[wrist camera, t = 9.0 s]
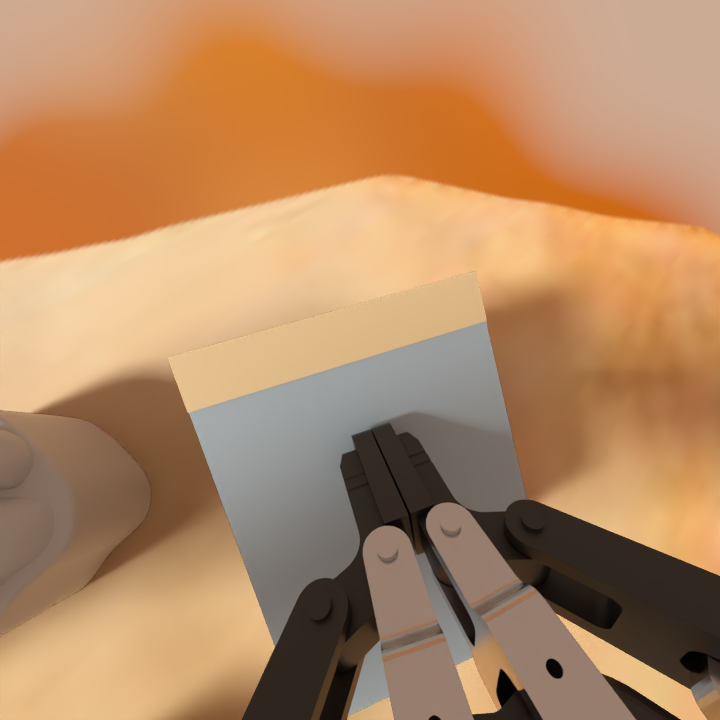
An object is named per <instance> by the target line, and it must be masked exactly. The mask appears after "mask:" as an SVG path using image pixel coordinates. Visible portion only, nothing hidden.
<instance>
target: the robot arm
mask: <svg viewBox="0 0 720 720" xmlns="http://www.w3.org/2000/svg"><path fill="white" fill-rule="evenodd" d="M351 437H352V441H353V445H354V448H355V450H353V451H350V452H347V453H344V454H342V458H341V464H340V469H341V473H342V476H343V480H344V483H345V486H346V490H347V493H348V497H349V500H350V504H351V507H352V511H353V514H354V517H355V521H356V524H357V528H358V531H359V536H360V544H359V549H358V552H357V555H356V557H355V558H354V560H353V561H352V563H351V564H350V565H349V566H348V567H347V568H346V569H345V570H343V571H342V572H341V573H340V574H339V575H338V576H337V577H335V578H334V579H330V578H320V579H317V580H315V581H313V582H311V583H310V584H308V585H307V586H306V587H305V588H304V589H303V591H302V592H301V593H300V595H299V597H298V599H297V601H296V603H295V606H294V608H293V610H292V612H291V614H290V616H289V619H288V621H287V623H286V625H285V627H284V629H283V632H282V634H281V636H280V638H279V640H278V642H277V644H276V647H275V649H274V651H273V653H272V655H271V657H270V660H269V662H268V664H267V666H266V668H265V670H264V673H263V675H262V677H261V679H260V681H259V683H258V686H257V688H256V690H255V692H254V694H253V696H252V699H251V701H250V703H249V705H248V707H247V709H246V712H245V714H244V716H243V718H242V720H347V717H348V713H349V710H350V707H351V703H352V700H353V696H354V693H355V689H356V686H357V682H358V679H359V675H360V672H361V668H362V665H363V661H364V658H365V655H366V654H367V653H368V652H369V651H370V650H371V649H372V648H373V647H374V646H375V645H376V644H377V643H378V642H379V641H380V643H381V654H382V660H383V665H384V671H385V676H386V681H387V686H388V691H389V696H390V701H391V706H392V711H393V715H394V720H680V719H679V718H677V717H676V716H674V715H673V714H671V713H669V712H668V711H666V710H665V709H663V708H662V707H660V706H659V705H657V704H655V703H654V702H652V701H651V700H649V699H648V698H646V697H645V696H643V695H642V694H640V693H638V692H637V691H635V690H634V689H632V688H630V687H629V686H627V685H625V684H623V683H621V682H620V681H618V680H616V679H614V678H612V677H609V676H606V675H604V674H601V673H600V671H599V670H598V669H597V668H596V666H595V665H594V664H593V662H592V661H591V660H590V658H589V657H588V656H587V654H586V653H585V652H584V650H583V649H582V648H581V646H580V645H579V644H578V642H577V641H576V640H575V639H574V637H573V636H572V635H571V633H570V632H569V631H568V629H567V628H566V627H565V625H564V624H563V623H562V621H561V620H560V619H559V617H558V616H557V615H556V614H558V615H560V616H562V617H564V618H565V619H567V620H569V621H571V622H572V623H574V624H576V625H578V626H579V627H581V628H583V629H585V630H586V631H588V632H590V633H592V634H594V635H595V636H597V637H599V638H601V639H602V640H604V641H606V642H608V643H609V644H611V645H613V646H615V647H617V648H618V649H620V650H622V651H624V652H625V653H627V654H629V655H631V656H632V657H634V658H636V659H638V660H639V661H641V662H643V663H645V664H647V665H648V666H650V667H652V668H654V669H655V670H657V671H659V672H661V673H662V674H664V675H666V676H668V677H670V678H671V679H673V680H675V681H677V682H678V683H680V684H682V685H684V686H685V687H687V688H689V689H691V690H692V693H693V696H694V698H695V701H696V703H697V705H698V706H699V708H700V710H701V711H702V713H703V714H704V715H705V717H706V718H707V720H720V576H719V575H716V574H714V573H711V572H709V571H706V570H704V569H701V568H699V567H696V566H694V565H692V564H689V563H687V562H684V561H682V560H679V559H677V558H674V557H672V556H669V555H667V554H664V553H662V552H660V551H657V550H655V549H652V548H650V547H647V546H645V545H642V544H640V543H637V542H635V541H632V540H630V539H628V538H625V537H623V536H620V535H618V534H615V533H613V532H610V531H608V530H605V529H603V528H600V527H598V526H596V525H593V524H591V523H588V522H586V521H583V520H581V519H578V518H576V517H573V516H571V515H568V514H566V513H564V512H561V511H559V510H556V509H554V508H551V507H549V506H546V505H544V504H541V503H539V502H536V501H533V500H526V499H523V500H517V501H515V502H513V503H511V504H510V505H509V506H508V507H507V509H506V511H499V512H478V511H474V510H470V509H468V508H466V507H464V506H463V505H461V504H460V503H459V502H458V501H457V500H456V499H455V498H454V497H453V495H452V493H451V492H450V490H449V489H448V487H447V485H446V484H445V482H444V480H443V479H442V477H441V476H440V474H439V472H438V471H437V469H436V467H435V466H434V464H433V463H432V462H431V459H430V458H429V456H428V454H427V453H426V452H425V449H424V448H423V446H422V445H421V443H420V441H419V440H418V439H417V438H416V437H414V436H413V435H411V434H410V433H409V432H404V433H401V434H399V435H396V433H395V431H394V429H393V428H392V426H391V424H390V423H386V424H383V425H380V426H377V427H375V428H372V429H371V431H370V429H369V430H366V431H363V432H360V433H357V434H354V435H351ZM414 549H415V551H416V554H417V555H419V554H421V553H424V552H425V555H426V557H427V559H428V561H429V564H430V566H431V571H432V576H433V579H434V581H435V583H436V585H437V587H438V588H439V590H440V592H441V594H442V596H443V598H444V600H445V602H446V604H447V606H448V608H449V610H450V611H451V613H452V615H453V617H454V619H455V621H456V623H457V625H458V627H459V629H460V631H461V633H462V635H463V636H464V638H465V640H466V642H467V644H468V646H469V648H470V651H471V653H472V656H473V659H474V662H475V664H476V667H477V669H478V672H479V674H480V676H481V678H482V680H483V682H484V684H485V686H486V688H487V690H488V692H489V694H490V696H491V698H492V700H493V702H494V704H495V706H496V708H497V710H498V711H497V712H495V713H486V714H472V713H471V710H470V707H469V704H468V701H467V698H466V695H465V692H464V690H463V687H462V684H461V681H460V678H459V675H458V672H457V669H456V666H455V663H454V661H453V658H452V655H451V652H450V649H449V646H448V643H447V641H446V638H445V636H444V633H443V631H442V629H441V627H440V625H439V623H438V621H437V618H436V615H435V612H434V609H433V606H432V603H431V600H430V597H429V594H428V591H427V589H426V586H425V583H424V580H423V577H422V574H421V571H420V568H419V565H418V562H417V559H416V554H415V551H414ZM555 613H556V614H555Z"/></svg>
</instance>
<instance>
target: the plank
mask: <svg viewBox="0 0 720 720" xmlns="http://www.w3.org/2000/svg"><path fill="white" fill-rule="evenodd" d="M486 321H487V318H486V313H485V309H484V304H483V300H482V296H481V291H480V287H479V283H478V278H477V274H476V271H473V272H470V273H466V274H463V275H459V276H455V277H452V278H448V279H445V280H441V281H438V282H434V283H431V284H427V285H423V286H420V287H416V288H413V289H409V290H406V291H402V292H399V293H395V294H392V295H388V296H384V297H381V298H377V299H374V300H370V301H367V302H363V303H360V304H356V305H352V306H349V307H345V308H342V309H338V310H335V311H331V312H328V313H324V314H321V315H317V316H313V317H310V318H306V319H303V320H299V321H296V322H292V323H289V324H285V325H281V326H278V327H274V328H271V329H267V330H264V331H260V332H257V333H253V334H250V335H246V336H242V337H239V338H235V339H232V340H228V341H225V342H221V343H218V344H214V345H210V346H207V347H203V348H200V349H196V350H193V351H189V352H186V353H182V354H179V355H175V356H171V357H168V361H169V364H170V366H171V369H172V372H173V374H174V377H175V380H176V383H177V385H178V388H179V391H180V393H181V396H182V399H183V402H184V404H185V407H186V410H187V412H188V413H189V414H190V417H191V420H192V423H193V425H194V428H195V431H196V433H197V436H198V439H199V442H200V444H201V447H202V450H203V452H204V455H205V458H206V461H207V463H208V466H209V469H210V471H211V474H212V477H213V480H214V482H215V485H216V488H217V490H218V493H219V496H220V499H221V501H222V504H223V507H224V510H225V512H226V515H227V518H228V520H229V523H230V526H231V529H232V531H233V534H234V537H235V539H236V542H237V545H238V548H239V550H240V553H241V556H242V558H243V561H244V564H245V567H246V569H247V572H248V575H249V577H250V580H251V583H252V586H253V588H254V591H255V594H256V596H257V599H258V602H259V605H260V607H261V610H262V613H263V615H264V618H265V621H266V624H267V626H268V629H269V632H270V634H271V637H272V640H273V643H274V645H275V647H276V644H277V642H278V640H279V638H280V636H281V634H282V632H283V629H284V627H285V625H286V623H287V621H288V619H289V616H290V614H291V612H292V610H293V608H294V606H295V603H296V601H297V599H298V597H299V595H300V593H301V592H302V591H303V589H304V588H305V587H306V586H307V585H308V584H310V583H311V582H313V581H315V580H317V579H320V578H330V579H334V578H335V577H337V576H338V575H339V574H340V573H341V572H342V571H343V570H345V569H346V568H347V567H348V566H349V565H350V564H351V563H352V561H353V560H354V558H355V557H356V555H357V552H358V549H359V544H360V536H359V531H358V528H357V524H356V521H355V517H354V514H353V511H352V507H351V504H350V500H349V497H348V493H347V490H346V486H345V483H344V480H343V476H342V473H341V469H340V464H341V458H342V454H344V453H347V452H350V451H353V450H355V448H354V445H353V441H352V437H351V435H354V434H357V433H360V432H363V431H366V430H369V429H370V431H371V429H372V428H375V427H377V426H380V425H383V424H386V423H390V424H391V426H392V428H393V429H394V431H395V433H396V435H399V434H401V433H404V432H409V433H410V434H411V435H413V436H414V437H416V438H417V439H418V440H419V441H420V443H421V445H422V446H423V448H424V449H425V452H426V453H427V454H428V456H429V458H430V459H431V462H432V463H433V464H434V466H435V467H436V469H437V471H438V472H439V474H440V476H441V477H442V479H443V480H444V482H445V484H446V485H447V487H448V489H449V490H450V492H451V493H452V495H453V497H454V498H455V499H456V500H457V501H458V502H459V503H460V504H461V505H463V506H464V507H466V508H468V509H470V510H474V511H478V512H499V511H506V509H507V507H508V506H509V505H510V504H511V503H513V502H515V501H517V500H523V499H526V500H527V498H526V493H525V489H524V484H523V480H522V476H521V471H520V467H519V463H518V458H517V454H516V450H515V445H514V441H513V437H512V432H511V428H510V424H509V419H508V415H507V411H506V406H505V402H504V398H503V393H502V389H501V385H500V380H499V376H498V372H497V367H496V363H495V358H494V354H493V350H492V345H491V341H490V337H489V332H488V328H487V324H486ZM414 551H415V549H414ZM415 554H416V551H415ZM416 559H417V562H418V565H419V568H420V571H421V574H422V577H423V580H424V583H425V586H426V589H427V591H428V594H429V597H430V600H431V603H432V606H433V609H434V612H435V615H436V618H437V621H438V623H439V625H440V627H441V629H442V631H443V633H444V636H445V638H446V641H447V643H448V646H449V649H450V652H451V655H452V658H453V661H454V663H455V665H457V664H459V663H461V662H463V661H466V660H468V659H470V658H472V657H473V656H472V653H471V651H470V648H469V646H468V644H467V642H466V640H465V638H464V636H463V635H462V633H461V631H460V629H459V627H458V625H457V623H456V621H455V619H454V617H453V615H452V613H451V611H450V610H449V608H448V606H447V604H446V602H445V600H444V598H443V596H442V594H441V592H440V590H439V588H438V587H437V585H436V583H435V581H434V579H433V576H432V571H431V566H430V564H429V561H428V559H427V557H426V555H425V552H424V553H421V554H419V555H417V554H416ZM387 697H389V691H388V686H387V681H386V676H385V671H384V665H383V660H382V654H381V643H380V641H379V642H378V643H377V644H376V645H375V646H374V647H373V648H372V649H371V650H370V651H369V652H368V653H367V654H366V655H365V658H364V661H363V665H362V668H361V672H360V675H359V679H358V682H357V686H356V689H355V693H354V696H353V700H352V703H351V707H350V710H349V713H348V716H349V715H351V714H353V713H355V712H358V711H360V710H362V709H364V708H366V707H368V706H370V705H372V704H374V703H377V702H379V701H381V700H383V699H385V698H387Z"/></svg>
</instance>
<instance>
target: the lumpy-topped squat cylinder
mask: <svg viewBox="0 0 720 720" xmlns="http://www.w3.org/2000/svg"><path fill="white" fill-rule="evenodd" d="M150 503H151V489H150V484H149V481H148V478H147V476H146V474H145V473H144V471H143V470H142V468H141V467H140V466H139V465H138V463H137V462H136V461H135V460H134V459H133V458H132V457H131V456H130V454H129V453H128V452H127V451H126V450H125V449H124V448H123V447H122V446H121V445H120V444H119V443H118V442H117V441H115V440H114V439H113V438H112V437H111V436H110V435H108V434H107V433H106V432H104V431H103V430H102V429H100V428H99V427H98V426H96V425H94V424H93V423H91V422H89V421H86V420H82V419H78V418H72V417H65V416H56V415H45V414H35V413H24V412H13V411H3V410H0V636H2V635H3V634H5V633H7V632H9V631H10V630H12V629H14V628H16V627H17V626H19V625H21V624H23V623H24V622H26V621H28V620H29V619H31V618H33V617H35V616H36V615H38V614H40V613H41V612H43V611H45V610H47V609H48V608H50V607H52V606H54V605H55V604H57V603H59V602H60V601H62V600H64V599H66V598H67V597H69V596H71V595H73V594H74V593H76V592H78V591H79V590H81V589H82V588H83V587H84V586H85V585H87V584H88V582H89V581H90V580H91V579H92V578H93V577H94V575H95V574H96V572H97V571H98V570H99V568H100V567H101V565H102V564H103V562H104V561H105V559H106V558H107V557H108V555H109V554H110V553H111V552H112V550H113V549H114V548H115V547H116V546H117V545H118V544H119V543H120V542H122V541H123V540H124V539H125V538H126V537H127V536H129V535H130V534H131V533H132V532H133V531H134V530H135V529H136V528H137V527H138V526H139V525H140V524H141V523H142V521H143V520H144V519H145V517H146V515H147V513H148V511H149V508H150Z"/></svg>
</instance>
